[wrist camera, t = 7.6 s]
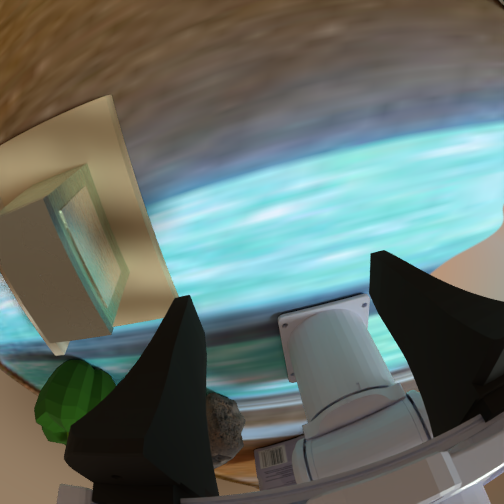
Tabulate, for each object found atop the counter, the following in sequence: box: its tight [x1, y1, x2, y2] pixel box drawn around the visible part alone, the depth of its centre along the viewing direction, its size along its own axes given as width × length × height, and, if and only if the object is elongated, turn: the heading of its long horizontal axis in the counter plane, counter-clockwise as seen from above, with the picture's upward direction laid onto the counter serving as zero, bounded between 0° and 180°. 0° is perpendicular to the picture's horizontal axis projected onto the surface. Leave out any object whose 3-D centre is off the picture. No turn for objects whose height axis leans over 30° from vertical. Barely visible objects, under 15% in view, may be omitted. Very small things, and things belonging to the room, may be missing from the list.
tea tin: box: [0, 163, 130, 343], centre depth 16 cm, size 8×5×6 cm, turn 11°
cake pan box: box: [254, 435, 305, 491], centre depth 32 cm, size 19×5×18 cm, turn 114°
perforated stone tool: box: [206, 392, 245, 469], centre depth 30 cm, size 15×5×7 cm, turn 155°
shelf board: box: [0, 95, 179, 356], centre depth 19 cm, size 16×11×4 cm
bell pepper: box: [34, 360, 116, 445], centre depth 24 cm, size 8×8×10 cm
